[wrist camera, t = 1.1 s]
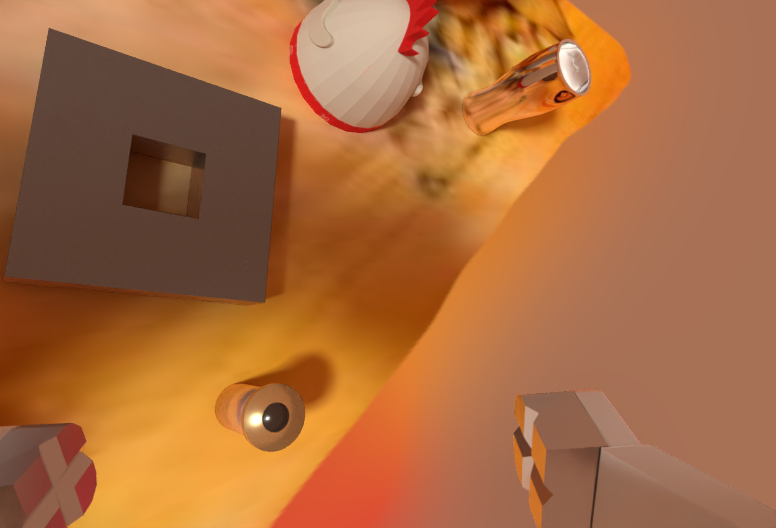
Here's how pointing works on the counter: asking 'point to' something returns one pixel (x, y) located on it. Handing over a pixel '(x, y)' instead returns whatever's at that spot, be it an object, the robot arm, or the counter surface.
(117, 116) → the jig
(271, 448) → the bushing
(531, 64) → the beer glass
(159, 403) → the counter surface
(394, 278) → the counter surface
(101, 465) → the counter surface
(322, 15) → the kitchen timer
